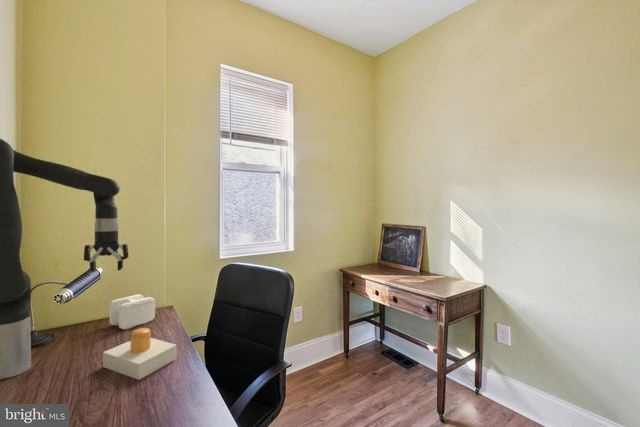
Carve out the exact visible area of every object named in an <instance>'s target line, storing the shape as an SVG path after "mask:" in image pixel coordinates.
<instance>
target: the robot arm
mask: <svg viewBox="0 0 640 427" xmlns="http://www.w3.org/2000/svg"><path fill="white" fill-rule="evenodd" d="M14 173H18V174H23V175H26V176H31V177H35V178H38V179H42V180H45V181H48V182H51V183H54V184H57V185H62V186H65V187H69V188H72V189H74V190H79V191H80V190H81V191H88V192H90V193H93V198H94V199H93V200H94V204H95V221H94V244H93V245H91V244H87V245H86V244H85V245H84V249H83V251H84V252H83V261H87V262H89V270H90V271H91V272H92V273H93V272H97V271H96V270H97V261H96V260H97V259H98V258H99V257H100V256H101V257H104V256H107V257H110V256H113V257H114V258H115V259H116V260H118V261H117V271H121V270H122V269H123V267H124V260H127V259H128V258H129V246H128V243H124V244H120V243H119V221H118V206H117V204H116V203H115V196H116V195H118V194H119V193H120V188H121V186H120V185H119V183H118V182H117V181H116V180H115V179H112V178H109V177H105V176H102V175H98V174H92V173H89V172H86V171H85V170H82V169H78V168H75V167H71V166H69V165H65V164H60V163H56V162H52V161H48V160H44V159H39V158H36V157H32V156H29V155H27V154H23V153H21V152H18V151H16V150H14V149H13V147H12V146H11V144H9V143H8V142H7V141H6V140H4V139H3V138H0V381H1V380H4V379H9V378H13V377H15V376H19V375H22V374H23V373H26V372H27V371H28V370H30V369H31V367H32V348H31V347H32V346H31V345H32V343H31V340H32V339H31V306H32V296H31V295H32V285H31V284H32V282H31V277H30V275H29V274H28V273H27V272H26V271H25V270H23V266H22V264H21V255H20V254H21V253H20V252H21V247H22V246H21V245H22V239H23V238H22V237H23V223H22V214H21V208H20V202H19V198H18V195H17V191H16V187H15V180H14ZM119 248H120V250H121V251H122V255H121V253H120V252H119V251H118V250H119ZM93 250H94V251H95V252H94V254H93V255H92V257H91V251H93Z"/></svg>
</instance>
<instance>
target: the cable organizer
mask: <svg viewBox="0 0 640 427" xmlns="http://www.w3.org/2000/svg"><path fill="white" fill-rule="evenodd" d="M108 306H109V307H108V309H109V311H108V312H109V317H108V318H109V324H110V325H112V326H118V328H119V329H122V330H130V329H132V328H134V327H136V326H140V325H144V324H148V323H149V322H151V321H153V320H154V319H155V317H156V316H155V315H156V300H155V298H153V297H151V296H148V297H144V295H142V294H134V295H130V296H125V297H121V298H117V299H113V300H111V302H109V305H108Z"/></svg>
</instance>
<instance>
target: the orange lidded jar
mask: <svg viewBox="0 0 640 427" xmlns="http://www.w3.org/2000/svg"><path fill="white" fill-rule="evenodd" d="M151 336H152V334H151V329H150V328H147V327H142V328H137V329H135V330H133V331H131V332H130V336H129V338H130V340H129V341H130V346H131V352H134V353H138V352H144V351H146V350H148V349H150V346H151V338H152V337H151Z"/></svg>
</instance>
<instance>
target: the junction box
mask: <svg viewBox="0 0 640 427" xmlns="http://www.w3.org/2000/svg"><path fill="white" fill-rule="evenodd" d="M177 349H178V348H177V344H175V343H171V342H167V341H164V340H161V339H156V338H153V337H151V346H150V349H148V350H146V351H144V352H138V353H134V352H131V346H130V340H129V341H126V342H124V343H122V344H120V345H117V346H115V347H112V348H110V349H107V350H105V351H103V352H102V360H103V361H102V364H103V365H102V367H103V368H106V369H108V370H112V371H113V372H116V373H119V374H122V375H124V376H127V377H130V378H132V379H136V380H139V381H140V380H142V379H143V378H145V377H146V376H149V375H150V374H152V373H154V372H155V371H157V370H160V369H161V368H163V367H165V366H167V365H168V364H170V363H171V362H174V361H175V360H177V359H178V358H177V355H178V354H177V352H178V351H177Z"/></svg>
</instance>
